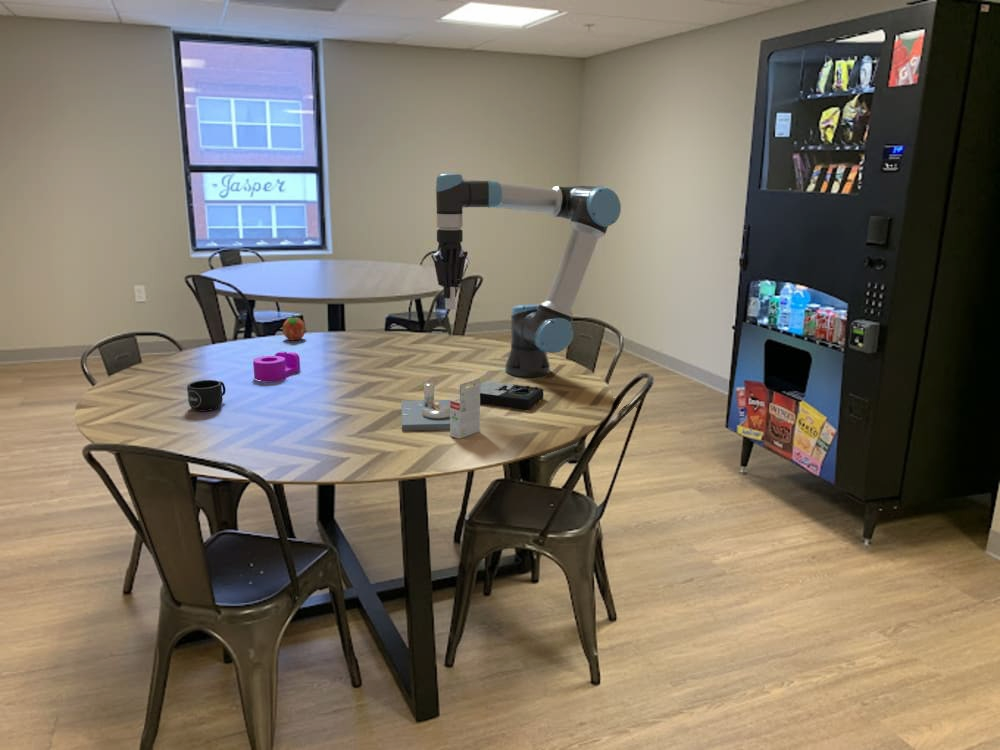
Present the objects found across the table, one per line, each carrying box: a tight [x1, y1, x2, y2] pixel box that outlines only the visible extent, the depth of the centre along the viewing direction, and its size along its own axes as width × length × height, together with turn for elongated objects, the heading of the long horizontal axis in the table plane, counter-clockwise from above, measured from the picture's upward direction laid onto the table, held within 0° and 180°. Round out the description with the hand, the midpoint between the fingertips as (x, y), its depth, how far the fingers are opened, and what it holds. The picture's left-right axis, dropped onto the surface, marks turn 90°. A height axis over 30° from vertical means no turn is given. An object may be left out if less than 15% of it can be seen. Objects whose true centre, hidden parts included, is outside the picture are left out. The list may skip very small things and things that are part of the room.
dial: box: [422, 382, 450, 420], centre depth 209 cm, size 14×9×6 cm, turn 22°
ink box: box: [449, 378, 481, 440], centre depth 195 cm, size 4×8×15 cm, turn 140°
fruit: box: [282, 314, 306, 341], centre depth 297 cm, size 9×10×10 cm
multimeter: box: [480, 380, 544, 411], centre depth 225 cm, size 13×19×5 cm
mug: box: [186, 379, 226, 411], centre depth 214 cm, size 12×9×7 cm
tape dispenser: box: [252, 350, 301, 382], centre depth 247 cm, size 16×10×6 cm, turn 162°
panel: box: [400, 399, 452, 432], centre depth 210 cm, size 20×21×2 cm
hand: (450, 308), depth 226 cm, fingers closed
